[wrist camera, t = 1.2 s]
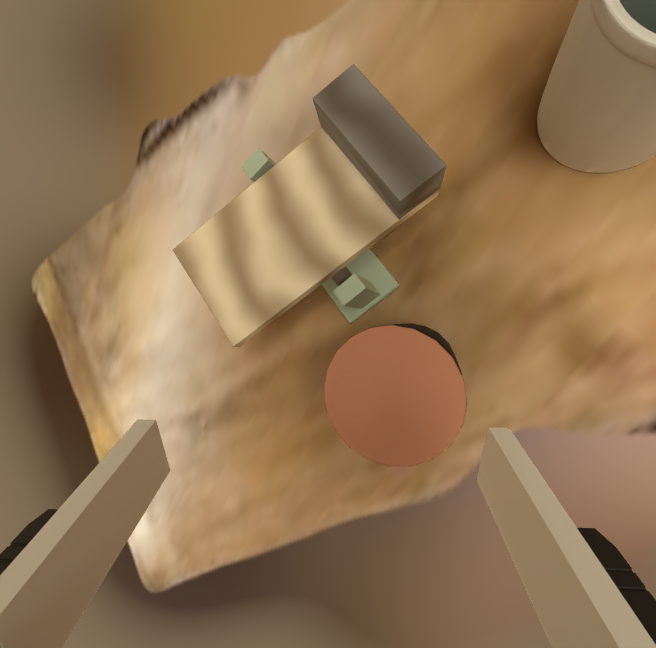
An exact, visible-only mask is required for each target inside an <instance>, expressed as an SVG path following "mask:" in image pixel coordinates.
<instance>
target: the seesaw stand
mask: <svg viewBox="0 0 656 648" xmlns="http://www.w3.org/2000/svg"><path fill="white" fill-rule="evenodd" d="M275 165H276V164H275V163H274V162H273V161H272V160H271V159H270V158H269V157H268V156H267V155H266V154H265V153H264V152H263V151H262V150H261V149H260V148H259V149H258V150H257V151H256V152H255V153H254V154H253V155H252V156H251V157H250V158H249V159H248V161H247V162H246V163H245V164H244V165H243V166H242V168H243V169H244V171H245V172H246V173H247V175H248V176H249V178H250V179H251V180H253V181H254V182H255V181H257V180H258V179H259V178H260V177H261V176H263V175H264V174H265V173H266V172H267V171H269V170H270V169H271V168H272V167H274V166H275ZM346 267H347V268H348V270H349V271H350V272H351V274H352V276H351V277H349V278H348V279H347V280H346V281H345V282H343V283H342V284H341V285H340V286H338V285H337V284H336V283H335V281H334V280H333V279H332V277H331V278H330V279H328V280H327V281H326V282H324V283H323V284H322V286H323V288H324V289H325V290H326V292H327V293H328V294H329V296H330V297H331V299H332V300H333V301H334V303H335V304H336V305H337V307H338V308H339V309H340V311H341V312H342V314H343V315H344V316H345V318H346V319H347V320H348V322H349V323H350V324H352V323H353V322H355V321H356V320H357V319H359V318H360V317H361V316H362V315H364V314H365V313H366V312H368V311H369V310H370V309H371V308H373V307H374V306H375V305H376V304H378V303H379V302H380V301H382V300H383V299H384V298H385V297H387V296H388V295H389V294H391V293H392V292H393V291H394V290H396V289H397V288H398V287H399V286H400V285H399V284H398V283H397V282H396V280H395V279H394V278H393V277H392V275H391V274H390V273H389V271H388V270H387V269H386V268H385V266H384V265H383V264H382V263H381V261H380V260H379V259H378V258H377V256H376V255H375V254H374V253H373V251H372V250H371V249H370V248H369V249H368V250H366V251H365V252H364V253H362V254H361V255H360V256H358V257H357V258H356V259H355V260H353V261H352V262H351V263H349V264H348V265H347V266H346Z"/></svg>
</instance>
